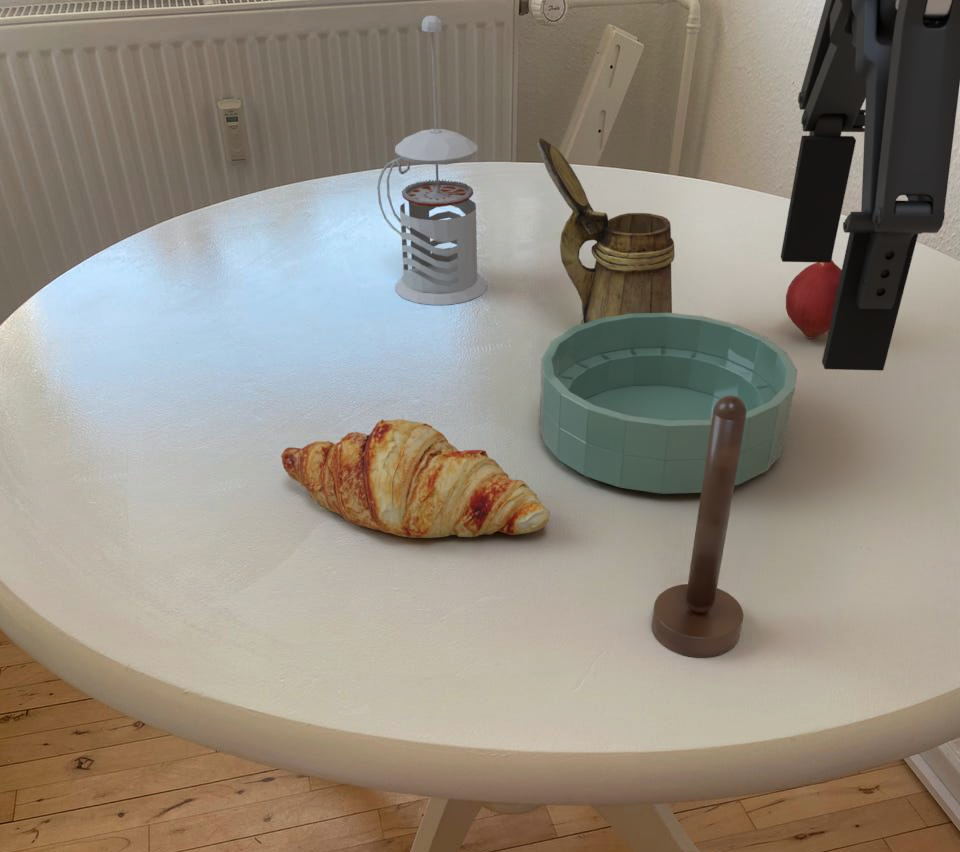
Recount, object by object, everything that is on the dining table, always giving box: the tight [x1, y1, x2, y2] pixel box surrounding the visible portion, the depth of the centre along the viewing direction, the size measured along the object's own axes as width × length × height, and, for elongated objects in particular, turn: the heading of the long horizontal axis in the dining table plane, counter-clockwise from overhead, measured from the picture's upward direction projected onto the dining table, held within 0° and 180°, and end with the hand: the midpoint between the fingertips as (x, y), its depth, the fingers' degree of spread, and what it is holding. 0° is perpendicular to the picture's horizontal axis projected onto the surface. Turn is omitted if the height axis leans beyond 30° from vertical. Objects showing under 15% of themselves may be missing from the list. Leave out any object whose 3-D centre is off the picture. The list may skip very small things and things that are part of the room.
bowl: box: [539, 312, 798, 495], centre depth 85 cm, size 20×20×6 cm
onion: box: [785, 258, 842, 339], centre depth 99 cm, size 6×6×8 cm
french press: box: [376, 15, 488, 306], centre depth 104 cm, size 10×12×25 cm
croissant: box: [280, 419, 550, 539], centre depth 77 cm, size 21×10×8 cm, turn 71°
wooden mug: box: [537, 137, 676, 325], centre depth 95 cm, size 9×14×18 cm, turn 82°
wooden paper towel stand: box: [651, 395, 747, 658], centre depth 63 cm, size 6×6×16 cm
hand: (826, 309), depth 55 cm, fingers open, 13 cm apart
